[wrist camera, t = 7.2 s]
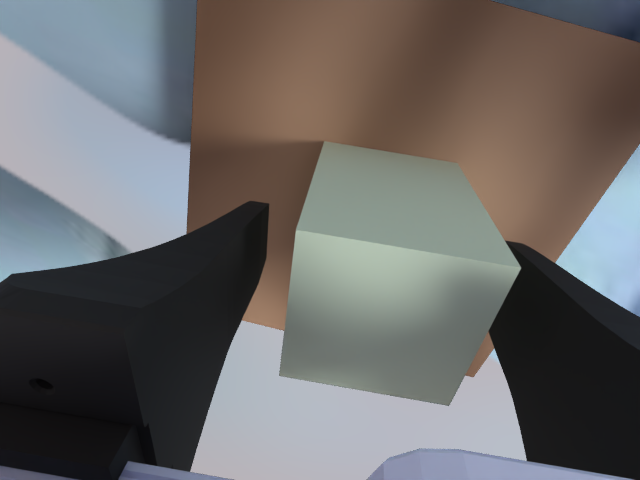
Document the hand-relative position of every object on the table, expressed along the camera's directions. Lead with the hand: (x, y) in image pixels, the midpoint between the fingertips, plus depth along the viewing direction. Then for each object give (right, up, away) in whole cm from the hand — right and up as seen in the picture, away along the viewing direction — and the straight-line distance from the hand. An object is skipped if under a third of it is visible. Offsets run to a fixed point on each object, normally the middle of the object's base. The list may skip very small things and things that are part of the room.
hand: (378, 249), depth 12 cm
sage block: (0, +1, +2) cm, 2 cm away
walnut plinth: (0, +2, +4) cm, 4 cm away
